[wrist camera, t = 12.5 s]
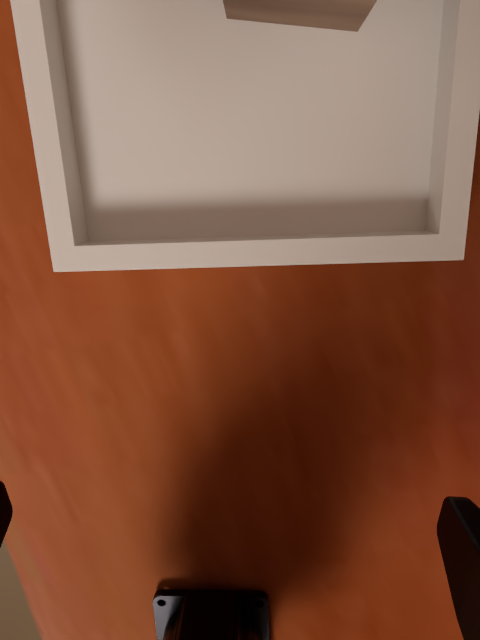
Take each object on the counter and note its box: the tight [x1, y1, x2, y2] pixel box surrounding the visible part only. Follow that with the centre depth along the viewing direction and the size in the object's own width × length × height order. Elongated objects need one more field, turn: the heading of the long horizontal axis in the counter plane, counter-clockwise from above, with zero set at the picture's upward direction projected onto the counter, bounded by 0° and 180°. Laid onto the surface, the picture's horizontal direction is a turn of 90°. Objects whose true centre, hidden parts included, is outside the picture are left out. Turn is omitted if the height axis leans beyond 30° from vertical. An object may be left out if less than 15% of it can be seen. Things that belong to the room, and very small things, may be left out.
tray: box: [10, 0, 480, 272], centre depth 16 cm, size 18×16×2 cm
